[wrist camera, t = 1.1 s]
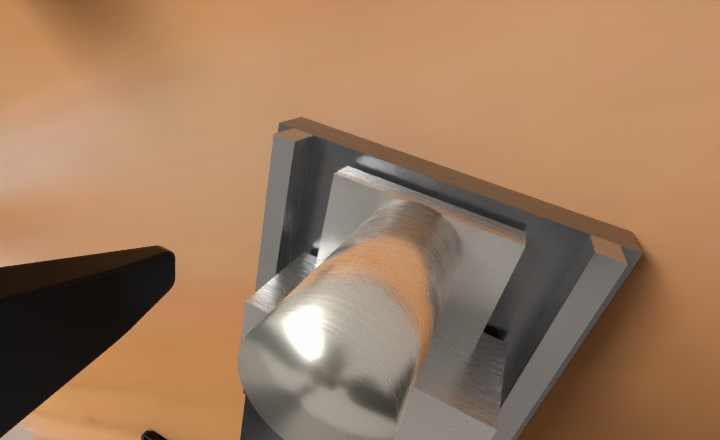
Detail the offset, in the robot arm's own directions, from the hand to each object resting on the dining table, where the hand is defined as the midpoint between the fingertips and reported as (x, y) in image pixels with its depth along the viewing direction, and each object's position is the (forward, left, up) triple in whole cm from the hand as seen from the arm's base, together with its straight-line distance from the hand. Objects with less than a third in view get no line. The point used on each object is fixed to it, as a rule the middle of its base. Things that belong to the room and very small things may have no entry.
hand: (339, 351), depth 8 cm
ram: (-2, 0, -6) cm, 6 cm away
